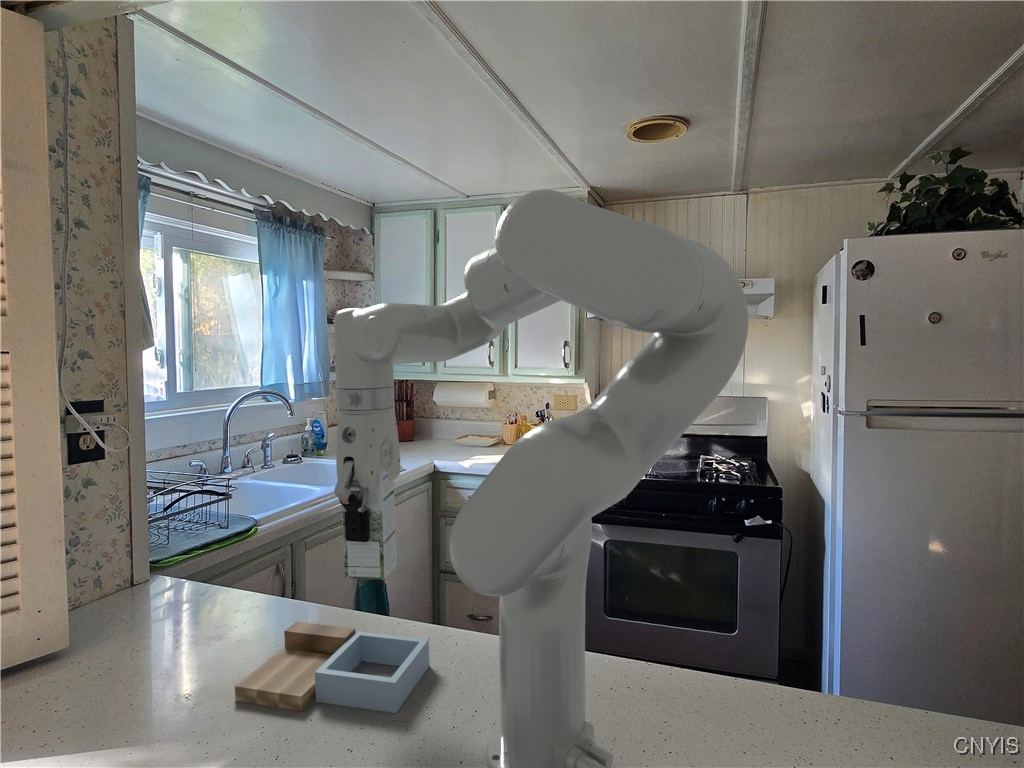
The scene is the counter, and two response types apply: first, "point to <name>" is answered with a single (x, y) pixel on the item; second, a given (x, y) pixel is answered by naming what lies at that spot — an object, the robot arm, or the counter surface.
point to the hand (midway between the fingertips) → (370, 531)
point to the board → (283, 680)
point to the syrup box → (374, 535)
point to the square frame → (372, 690)
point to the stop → (316, 637)
